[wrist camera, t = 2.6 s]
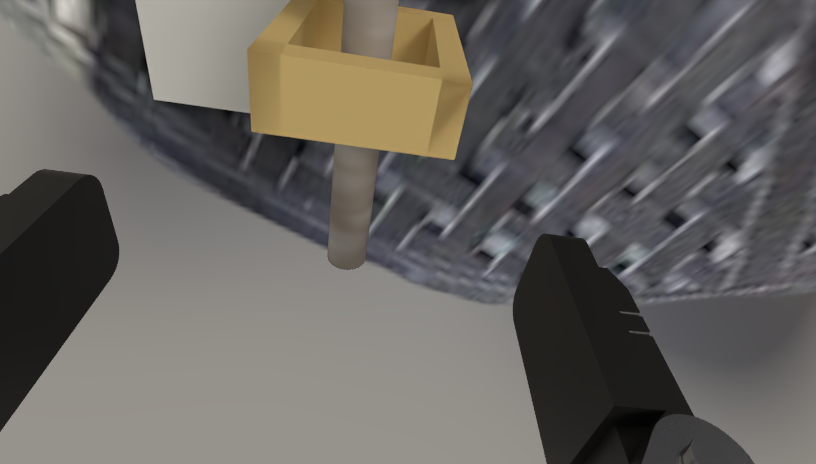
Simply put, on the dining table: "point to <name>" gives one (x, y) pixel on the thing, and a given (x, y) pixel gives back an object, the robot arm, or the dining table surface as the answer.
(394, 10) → the stand
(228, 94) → the mat
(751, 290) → the dining table surface
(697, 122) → the dining table surface
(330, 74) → the loop
